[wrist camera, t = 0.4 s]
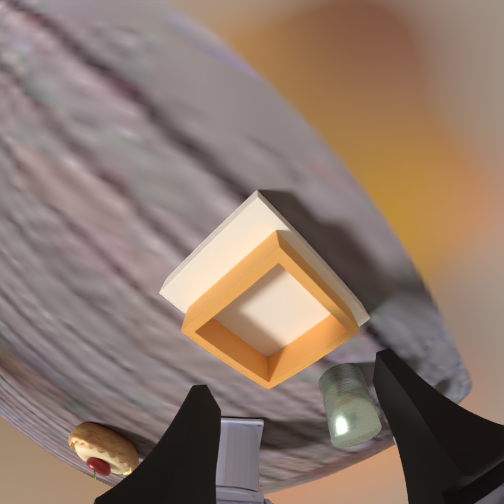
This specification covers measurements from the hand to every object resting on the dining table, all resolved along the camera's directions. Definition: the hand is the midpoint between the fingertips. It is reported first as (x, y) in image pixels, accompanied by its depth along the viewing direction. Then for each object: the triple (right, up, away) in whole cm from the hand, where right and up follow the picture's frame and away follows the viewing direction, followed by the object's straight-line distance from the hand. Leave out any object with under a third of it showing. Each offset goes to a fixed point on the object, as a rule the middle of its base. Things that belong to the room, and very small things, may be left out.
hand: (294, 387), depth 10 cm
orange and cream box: (0, +3, +9) cm, 10 cm away
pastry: (-25, -24, +22) cm, 41 cm away
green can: (+7, -7, +14) cm, 17 cm away
